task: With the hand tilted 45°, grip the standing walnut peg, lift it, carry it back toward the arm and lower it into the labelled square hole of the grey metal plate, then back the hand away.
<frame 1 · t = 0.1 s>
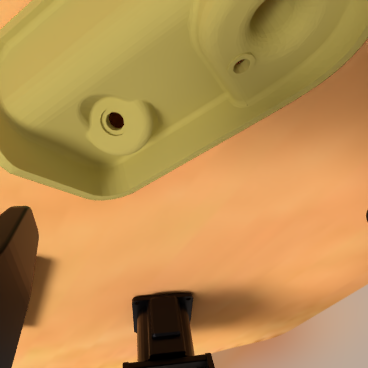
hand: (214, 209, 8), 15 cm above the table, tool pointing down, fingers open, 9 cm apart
plastic component: (167, 53, 21), on the table
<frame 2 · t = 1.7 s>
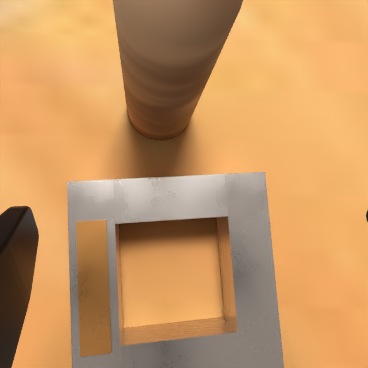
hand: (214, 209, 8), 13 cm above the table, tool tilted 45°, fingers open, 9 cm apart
walnut peg: (159, 109, 22), on the table
hole plate: (171, 270, 21), on the table
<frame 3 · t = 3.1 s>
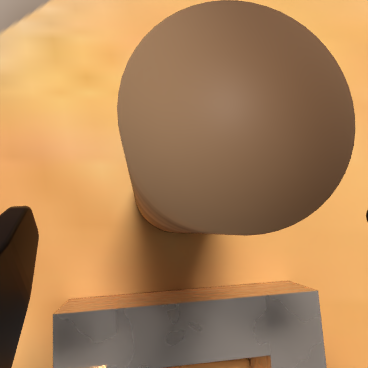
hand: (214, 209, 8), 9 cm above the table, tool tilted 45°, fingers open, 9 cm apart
walnut peg: (175, 191, 18), on the table
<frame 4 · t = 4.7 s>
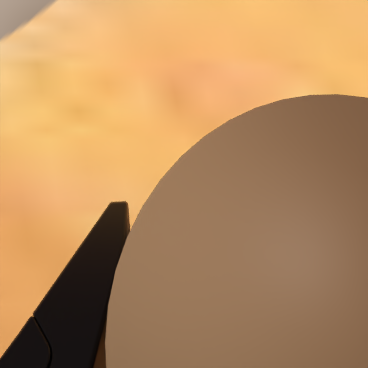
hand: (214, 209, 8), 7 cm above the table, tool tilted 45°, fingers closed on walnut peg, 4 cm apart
walnut peg: (185, 248, 15), on the table, touching gripper
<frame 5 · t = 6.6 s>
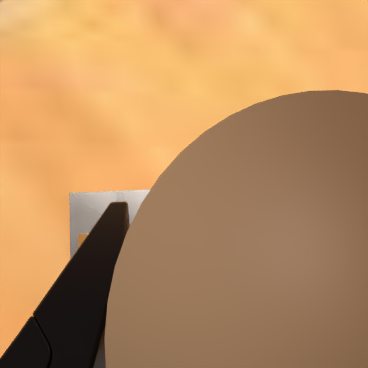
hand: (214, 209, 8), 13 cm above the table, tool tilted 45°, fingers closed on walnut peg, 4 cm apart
walnut peg: (185, 247, 15), point 7 cm above the table, touching gripper
hole plate: (174, 282, 21), on the table
when the fingers open (8 cm above the table, at t = 8.6 s): walnut peg drops 1 cm, resting in hole plate.
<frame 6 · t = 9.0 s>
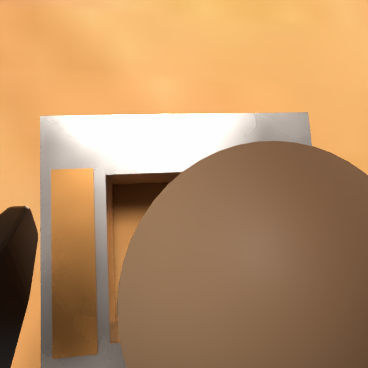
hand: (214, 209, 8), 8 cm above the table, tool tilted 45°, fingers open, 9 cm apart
walnut peg: (180, 248, 16), resting in hole plate
hole plate: (180, 246, 16), on the table
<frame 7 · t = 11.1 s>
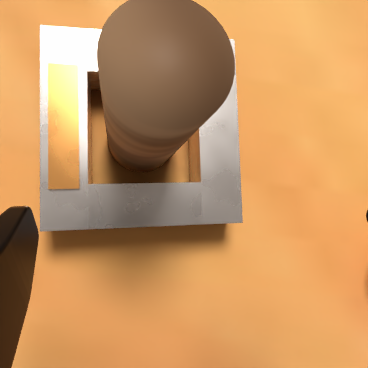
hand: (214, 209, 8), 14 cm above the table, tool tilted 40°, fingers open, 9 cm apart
walnut peg: (141, 139, 22), resting in hole plate
hole plate: (141, 138, 22), on the table
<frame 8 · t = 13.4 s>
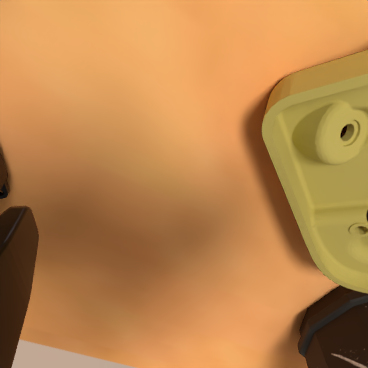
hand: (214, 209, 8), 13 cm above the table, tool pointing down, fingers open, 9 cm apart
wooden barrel: (357, 310, 40), on the table
plastic component: (345, 158, 25), on the table
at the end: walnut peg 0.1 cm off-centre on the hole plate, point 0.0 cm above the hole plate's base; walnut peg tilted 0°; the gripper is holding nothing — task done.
